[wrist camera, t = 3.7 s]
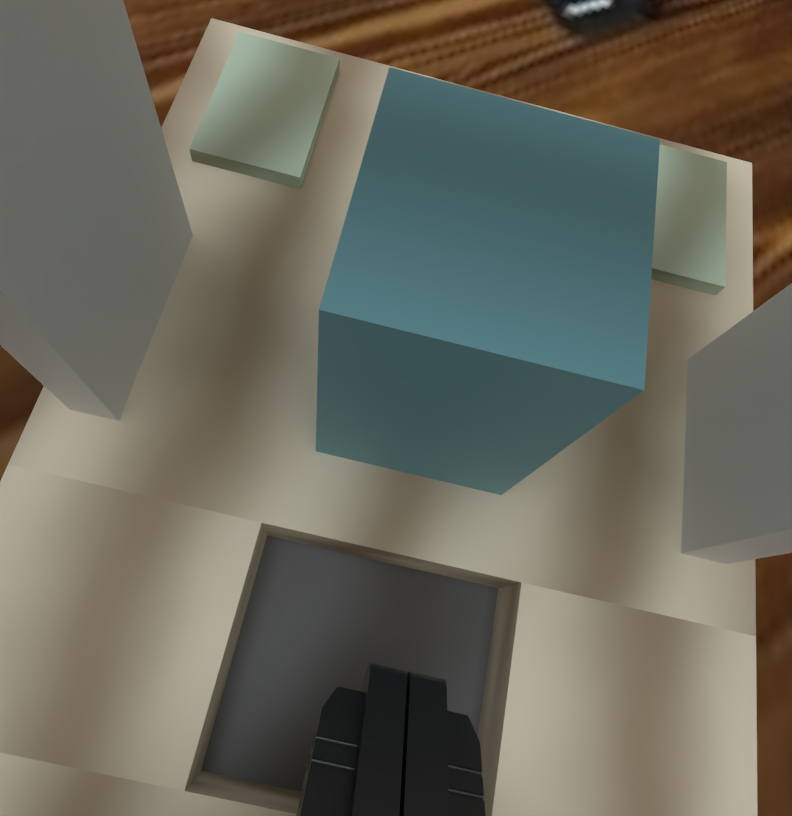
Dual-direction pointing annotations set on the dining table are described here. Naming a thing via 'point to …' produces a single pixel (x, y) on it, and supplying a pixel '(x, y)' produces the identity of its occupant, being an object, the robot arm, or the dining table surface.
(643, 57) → the dining table surface
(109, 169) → the tunnel
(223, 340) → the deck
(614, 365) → the teal block
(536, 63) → the dining table surface
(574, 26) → the dining table surface
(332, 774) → the robot arm
